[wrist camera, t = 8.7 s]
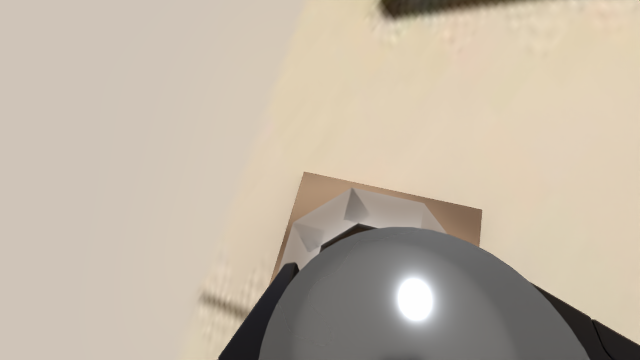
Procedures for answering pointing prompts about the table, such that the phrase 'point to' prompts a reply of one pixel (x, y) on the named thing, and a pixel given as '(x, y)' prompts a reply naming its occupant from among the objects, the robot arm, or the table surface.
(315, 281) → the metal pin
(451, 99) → the table surface
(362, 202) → the bore block
